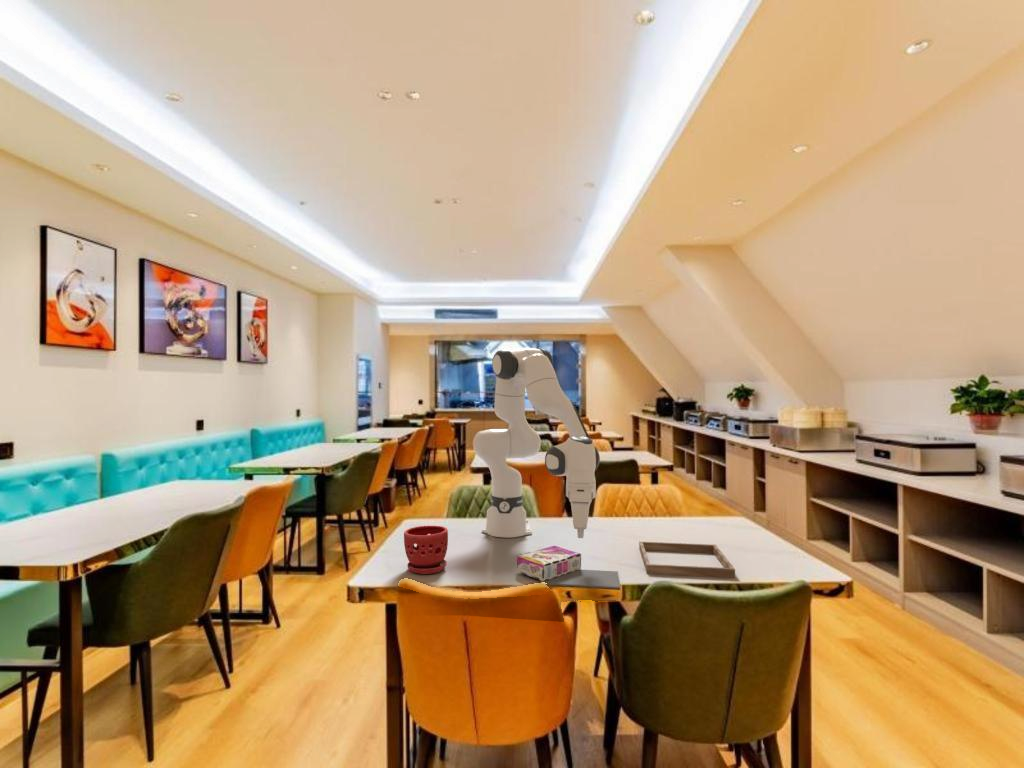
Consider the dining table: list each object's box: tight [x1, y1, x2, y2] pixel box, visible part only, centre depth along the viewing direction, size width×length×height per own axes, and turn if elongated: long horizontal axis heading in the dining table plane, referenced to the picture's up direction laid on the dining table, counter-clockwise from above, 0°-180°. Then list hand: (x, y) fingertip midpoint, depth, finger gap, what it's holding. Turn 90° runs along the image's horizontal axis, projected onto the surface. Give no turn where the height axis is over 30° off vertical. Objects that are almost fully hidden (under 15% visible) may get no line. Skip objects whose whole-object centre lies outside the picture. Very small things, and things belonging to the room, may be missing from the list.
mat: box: [539, 569, 621, 590], centre depth 160 cm, size 13×22×1 cm, turn 82°
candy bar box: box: [516, 545, 582, 582], centre depth 165 cm, size 11×5×16 cm
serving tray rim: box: [638, 541, 736, 579], centre depth 175 cm, size 25×25×2 cm
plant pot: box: [403, 525, 449, 575], centre depth 167 cm, size 13×13×12 cm
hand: (580, 536), depth 167 cm, fingers closed
